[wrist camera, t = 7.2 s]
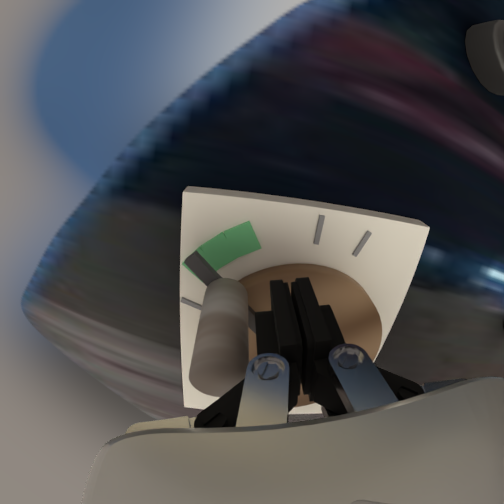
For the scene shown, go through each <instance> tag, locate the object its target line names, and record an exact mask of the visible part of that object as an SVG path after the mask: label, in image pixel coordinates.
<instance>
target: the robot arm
mask: <svg viewBox="0 0 504 504" xmlns="http://www.w3.org/2000/svg"><path fill="white" fill-rule="evenodd" d="M270 297H271V311H261V312H255V327H256V344H257V356H256V357H254V358H253V359H252V360H251V361H250V362H249V363H248V366H247V370H246V375H245V378H244V379H243V380H242V381H240V382H239V383H238V384H237V385H235V386H234V387H233V388H232V389H230V390H229V391H228V392H227V393H225V394H224V395H223V396H221V397H220V398H219V399H217V400H216V401H215V402H214V403H212V404H211V405H210V406H208V407H207V408H206V409H204V410H203V411H201V412H200V413H199V414H198V415H197V417H193V418H188V416H183V417H177V418H170V419H164V420H156V421H148V422H140V423H136V424H133V425H132V426H130V427H129V428H128V430H127V431H126V433H125V434H124V435H121V436H118V437H116V438H113V439H111V440H110V441H109V442H107V443H106V444H105V445H104V446H103V447H102V448H101V449H100V451H99V452H98V454H97V456H96V458H95V460H94V462H93V465H92V467H91V470H90V473H89V476H88V479H87V483H86V486H85V490H84V494H83V498H82V503H81V504H504V378H500V377H480V378H474V379H469V380H468V379H455V380H447V381H438V382H428V383H423V385H422V386H420V385H419V384H417V383H415V382H413V381H410V380H408V379H405V378H403V377H400V376H398V375H395V374H393V373H391V372H388V371H386V370H383V369H381V368H379V367H376V366H375V364H374V363H373V361H372V360H371V358H370V357H369V355H368V354H367V352H366V351H365V350H364V349H363V348H361V347H360V346H358V345H355V344H347V343H345V340H344V338H343V335H342V333H341V330H340V328H339V325H338V323H337V320H336V318H335V315H334V313H333V311H332V308H331V306H330V305H329V304H328V305H320V306H319V303H318V301H317V298H316V295H315V293H314V290H313V287H312V285H311V282H310V279H309V277H302V278H296V279H295V282H291V293H290V289H289V286H288V282H285V283H283V280H282V279H281V280H270ZM301 385H302V390H303V394H304V395H308V396H309V401H310V402H311V401H314V402H315V403H317V404H319V405H321V411H322V413H323V416H324V418H320V419H314V420H307V421H300V422H292V423H288V418H289V412H290V411H291V410H292V409H293V408H294V407H295V406H296V405H297V402H298V396H300V388H301Z"/></svg>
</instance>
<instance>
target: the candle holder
mask: <svg viewBox="0 0 504 504" xmlns="http://www.w3.org/2000/svg"><path fill="white" fill-rule="evenodd" d="M465 45H466V53H467V57H468V59H469V62H470V65H471V67H472V70H473V72H474V73H475V75H476V76H477V78H478V80H479V81H480V83H481V84H482V85H483V86H484V87H485V88H486V89H487V90H488V91H489V92H492V93H494V94H496V95H504V20H495V21H490V22H485V23H481V24H476V25H472V26H471V27H470V28H469V29H468V30H467V33H466V38H465Z"/></svg>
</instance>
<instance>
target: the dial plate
mask: <svg viewBox="0 0 504 504" xmlns="http://www.w3.org/2000/svg"><path fill="white" fill-rule="evenodd" d="M429 229H430V227H428V226H427V225H426V224H424V223H423V222H421V221H420V220H417V219H412V218H407V217H402V216H397V215H392V214H387V213H382V212H376V211H371V210H366V209H360V208H354V207H348V206H343V205H336V204H330V203H324V202H318V201H311V200H304V199H297V198H290V197H283V196H275V195H268V194H260V193H251V192H243V191H234V190H224V189H214V188H204V187H193V186H188V187H187V188H186V189H185V190H184V191H183V199H182V219H181V247H180V333H181V361H182V380H183V396H184V407H189V408H197V409H206V408H207V407H208V406H210V405H211V404H212V403H214V402H215V401H216V400H217V399H219V398H220V397H214V396H210V395H206V394H204V393H202V392H200V391H198V390H197V389H195V388H194V387H193V386H192V384H191V383H190V381H189V370H190V365H191V359H192V354H193V349H194V344H195V339H196V334H197V329H198V324H199V319H200V314H201V309H202V304H203V299H204V295H205V291H206V288H207V286H206V285H205V284H204V283H203V282H202V281H201V280H200V279H199V278H198V277H197V276H196V275H195V274H194V273H193V272H192V271H191V270H190V269H189V268H188V266H187V265H186V264H185V263H184V261H185V259H186V258H187V257H188V256H189V255H191V254H192V253H193V252H195V251H196V250H197V251H198V253H199V254H200V255H201V256H202V257H203V258H204V259H205V260H206V261H207V262H208V263H209V264H210V265H211V266H212V268H213V269H214V270H215V271H216V272H217V273H218V274H219V275H220V276H221V277H222V278H230V279H234V280H237V281H238V280H240V279H242V278H243V277H245V276H248V275H250V274H252V273H254V272H257V271H260V270H263V269H266V268H269V267H274V266H279V265H284V264H296V263H301V264H315V265H321V266H326V267H329V268H333V269H336V270H338V271H340V272H342V273H344V274H347V275H348V276H350V277H351V278H353V279H354V280H355V281H356V282H358V283H359V284H360V285H361V286H362V287H363V289H364V290H365V291H366V293H367V294H368V295H369V297H370V299H371V300H372V302H373V303H374V305H375V307H376V309H377V311H378V313H379V315H380V319H381V323H382V340H381V344H380V348H379V350H378V353H379V352H380V350H381V348H382V346H383V344H384V342H385V340H386V338H387V335H388V333H389V331H390V329H391V327H392V325H393V323H394V321H395V318H396V316H397V314H398V312H399V310H400V307H401V305H402V303H403V300H404V298H405V295H406V293H407V291H408V288H409V286H410V283H411V281H412V278H413V275H414V273H415V270H416V267H417V265H418V262H419V259H420V256H421V253H422V251H423V248H424V245H425V242H426V239H427V235H428V232H429ZM378 353H377V355H378ZM377 355H376V357H377ZM376 357H375V359H376ZM375 359H374V360H373V363H374V361H375ZM318 413H322V411H321V405H319V404H317V403H313V404H310V405H306V406H301V407H294V408H293V409H292V410H291V411H290V412H289V414H318Z"/></svg>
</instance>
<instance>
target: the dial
mask: <svg viewBox="0 0 504 504" xmlns="http://www.w3.org/2000/svg"><path fill="white" fill-rule="evenodd" d="M184 263H185V264H186V265H187V266H188V268H189V269H190V270H191V271H192V272H193V273H194V274H195V275H196V276H197V277H198V278H199V279H200V280H201V281H202V282H203V283H204V284H205V285H206V286H207V288H206V291H205V295H204V299H203V304H202V309H201V314H200V319H199V324H198V329H197V334H196V339H195V344H194V349H193V354H192V359H191V365H190V370H189V381H190V383H191V384H192V386H193V387H194V388H195V389H197V390H198V391H200V392H202V393H204V394H206V395H210V396H214V397H221V396H223V395H224V394H225V393H227V392H228V391H229V390H230V389H232V388H233V387H234V386H235V385H237V384H238V383H239V382H240V381H242V380H243V379H244V378H245V375H246V370H247V366H248V363H249V362H250V361H251V360H252V359H253V358H254V357H256V356H257V344H256V327H255V312H261V311H271V297H270V280H281V279H282V280H283V283H285V282H288V286H289V289H290V293H291V282H295V279H296V278H302V277H309V279H310V282H311V285H312V287H313V290H314V293H315V295H316V298H317V301H318V303H319V306H320V305H328V304H329V305H330V306H331V308H332V311H333V313H334V315H335V318H336V320H337V323H338V325H339V328H340V330H341V333H342V335H343V338H344V340H345V343H347V344H355V345H358V346H360V347H361V348H363V349H364V350H365V351H366V352H367V354H368V355H369V357H370V358H371V360H372V361H373V360H374V359H375V357H376V355H377V353H378V350H379V348H380V344H381V340H382V323H381V319H380V315H379V313H378V311H377V309H376V307H375V305H374V303H373V302H372V300H371V299H370V297H369V295H368V294H367V293H366V291H365V290H364V289H363V287H362V286H361V285H360V284H359V283H358V282H356V281H355V280H354V279H353V278H351V277H350V276H348V275H347V274H344V273H342V272H340V271H338V270H336V269H333V268H329V267H326V266H321V265H315V264H301V263H296V264H284V265H279V266H274V267H269V268H266V269H263V270H260V271H257V272H254V273H252V274H250V275H248V276H245V277H243V278H242V279H240V280H238V281H237V280H234V279H230V278H222V277H221V276H220V275H219V274H218V273H217V272H216V271H215V270H214V269H213V268H212V266H211V265H210V264H209V263H208V262H207V261H206V260H205V259H204V258H203V257H202V256H201V255H200V254H199V253H198V251H197V250H196V251H195V252H193V253H192V254H191V255H189V256H188V257H187V258H186V259H185V261H184ZM313 403H315V402H314V401H311V402H310V401H309V396H308V395H304V394H303V390H302V385H301V388H300V396H298V402H297V405H296V406H295V407H301V406H306V405H310V404H313Z"/></svg>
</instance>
